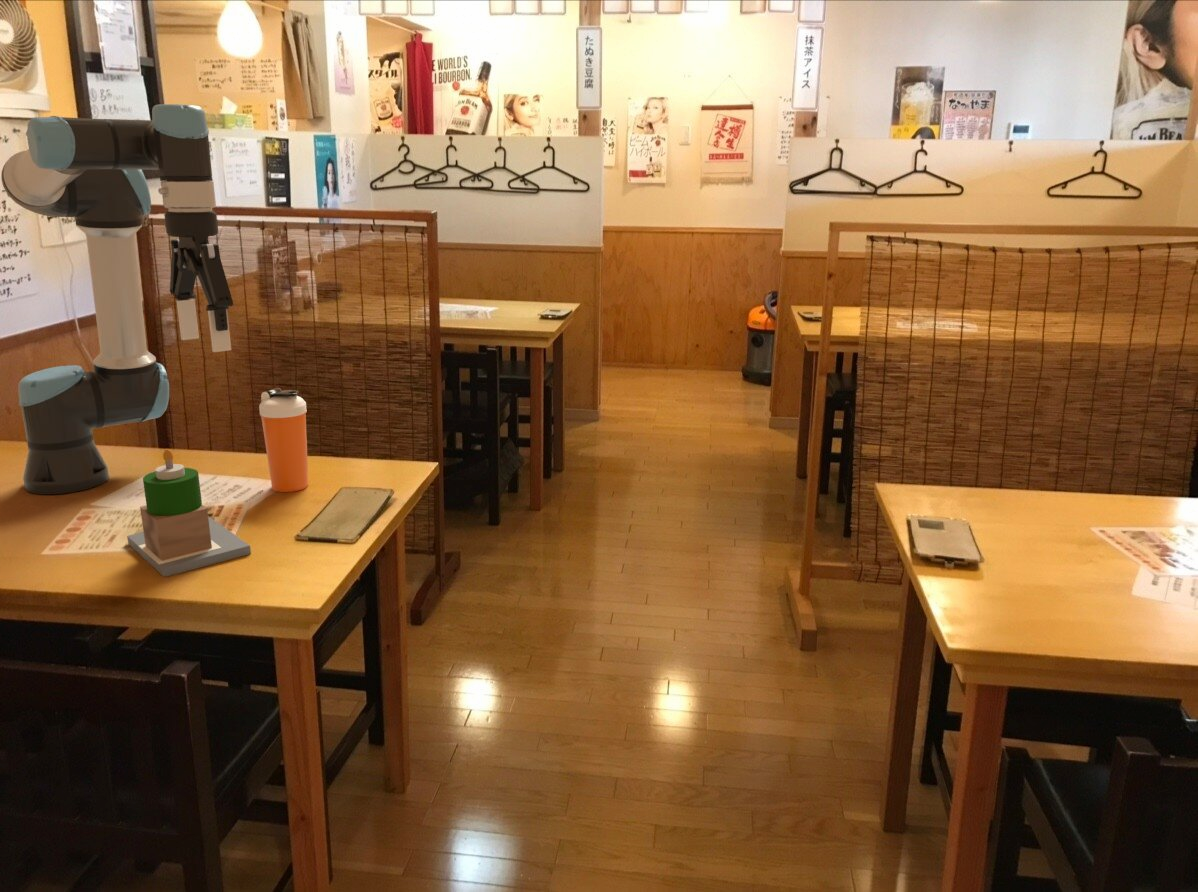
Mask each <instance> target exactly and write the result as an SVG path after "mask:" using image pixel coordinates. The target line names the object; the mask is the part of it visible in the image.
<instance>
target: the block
mask: <svg viewBox="0 0 1198 892" xmlns="http://www.w3.org/2000/svg"><path fill="white" fill-rule="evenodd" d="M139 509H140V515H141V517H140V518H141V522H142V529H143V531H142V532H144V538H145V545H146V547H147V548H148V549H149V550H150V551H152V552H153V553H154V554H155V555H156V556H157V557H158V558H159V559H160V560H161V561H163V560H167V559H171V558H175V557H179V556H183V555H187V554H190V553H194V552H198V551H202V550H206V549H210V548H212V544H211V536H210V528H209V519H208V517H209V512H208V508H207V507H205V505H203V504H202V506H201V507H200V508H198V509H196V510H194V511H192V512H189V513H185V514H180V515H174V516H156V515H152V514H150V513H148V511H147V505H142V506H139Z"/></svg>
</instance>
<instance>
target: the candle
mask: <svg viewBox="0 0 1198 892" xmlns="http://www.w3.org/2000/svg"><path fill="white" fill-rule="evenodd" d="M162 458H163V460H164V465H160V466H157V467H156V468H155V470H154V471H152V472H151V471H150V473H149V472H148V473H147V474H145V475H144V476H143V478H142V483H143V490H144V496H145V501H146V502H145V504H146V505H147V511H148V513H150V514H152V515H156V516H174V515H180V514H185V513H189V512H192V511H194V510H196V509H198V508H200V507H201V506H202V505H203V501H202V493H201V485H200V476H199V471H198V470H197V469H194V468H190V467H185V466H184V464H180V463H173V461H174V460H173V459H174V454H173V452H172V450H171V449H169V448H165V450H164V451H163V455H162ZM146 505H145V506H146Z"/></svg>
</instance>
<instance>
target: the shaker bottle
mask: <svg viewBox="0 0 1198 892" xmlns="http://www.w3.org/2000/svg"><path fill="white" fill-rule="evenodd" d="M299 394H300V391H299V390H294V389H285V390H282V389H281V388H278V387H275V388H272V389H270V390H266V391H263V392H261V396H260V398H261V399H260V400H261V402H260V404H259V406H258V408H259V416H260V417H261V422H262V423H261V424H262V428H263V429H262V431H263V436H264V443H265V450H266V457H267V463H268V469H269V476H270V484H271V489H272V490H273V491H274V492H279V493H292V492H298V491H302V490H304V489H306V488H307V487H308V486H309V468H308V464H309V463H308V439H307V416H306V414H307V412H308V411H307V402H306V401H305V400H304V398H302V397H301V396H298V395H299Z"/></svg>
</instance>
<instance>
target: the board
mask: <svg viewBox="0 0 1198 892" xmlns="http://www.w3.org/2000/svg"><path fill="white" fill-rule="evenodd" d="M208 519H209V528H210V536H211V544H212V548H210V549H206V550H202V551H198V552H194V553H190V554H187V555H183V556H179V557H175V558H171V559H167V560H163V561H161V560H160V559H159V558H158V557H157V556H156V555H155V554H154V553H153V552H152V551H150V550H149V549H148V548H147V547H146V545H145V538H144V531H142V532H138V533H133V534H129V535H127V544H128V546H130V547H131V548H132V549H133V550H134V551H135V552H136V553H138V554H139V555H140V556H141V557H142V559H144V560H145V561H147V563H148V564H149V565H151V566H152V567H153V568H154V569H155V570H156V571H157V572H158V573H159V574H161V575H162V577H164V578H166V577H169V576H175V575H177V574H180V573H185V572H188V571H192V570H196V569H200V568H204V567H207V566H210V565H215V564H217V563H221V562H222V563H223V562H225V561H229V560H232V559H237V558H240V557H244V556H248V555H250V554H252V553H251V545H250V544H248V543H247V542H246V541H244V540H243V539H242V538H240V537H238V536H237V535H236V534H234V532H232V531H230V530H229V529H227V528H226V527H225V526H223V525H222V524H220V522H218V521H216V520H215V519H214V518H212V517H211V516H208Z"/></svg>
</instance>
